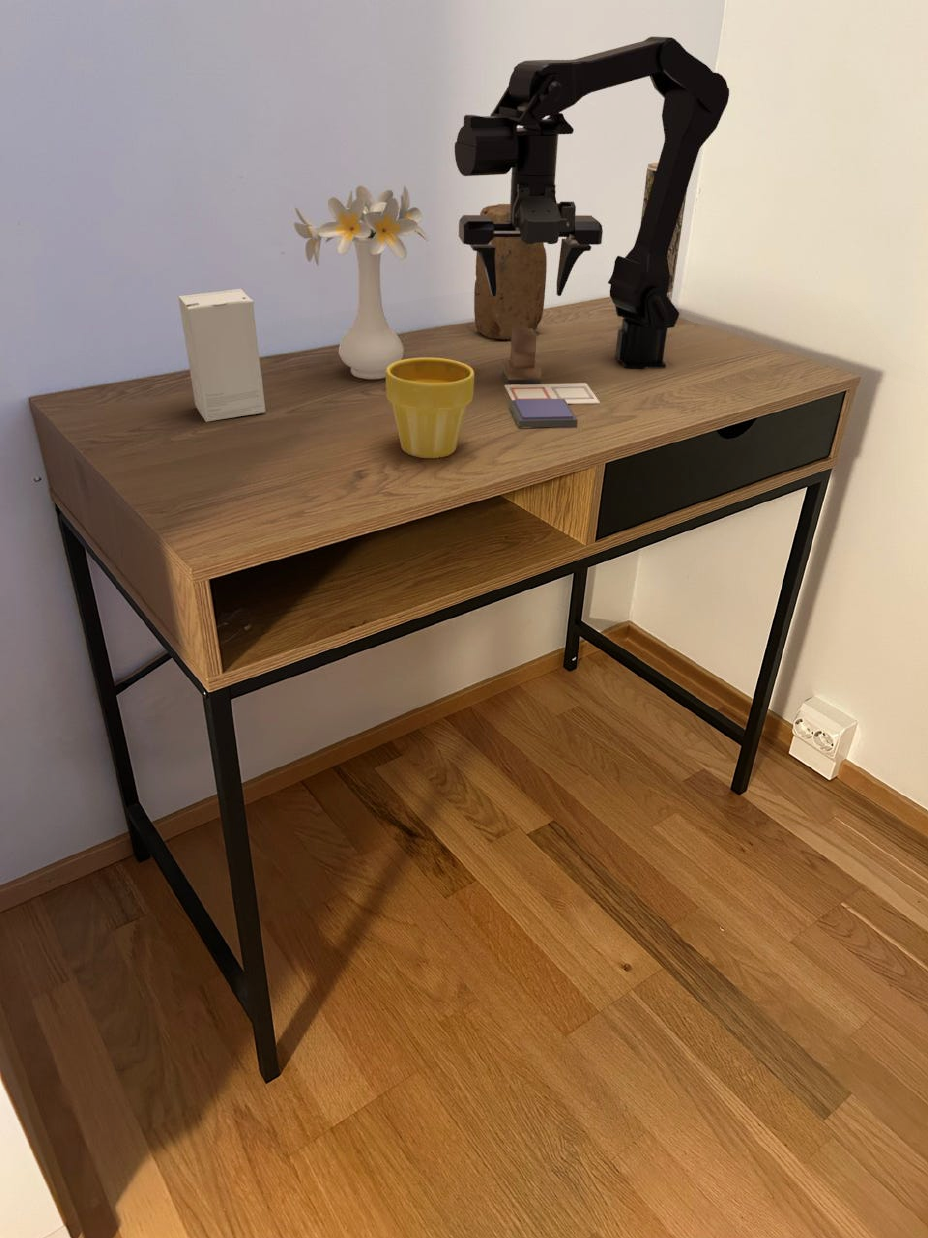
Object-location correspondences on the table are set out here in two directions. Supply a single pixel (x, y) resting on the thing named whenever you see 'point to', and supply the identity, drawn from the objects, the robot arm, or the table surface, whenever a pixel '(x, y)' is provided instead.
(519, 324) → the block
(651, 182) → the bark patterned cylinder
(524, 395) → the sheet
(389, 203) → the flower vase
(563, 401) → the inkpad
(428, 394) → the plant pot
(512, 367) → the stamp
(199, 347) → the skincare box
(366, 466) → the table surface
